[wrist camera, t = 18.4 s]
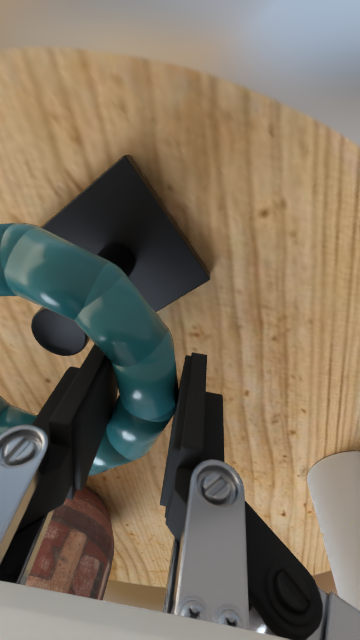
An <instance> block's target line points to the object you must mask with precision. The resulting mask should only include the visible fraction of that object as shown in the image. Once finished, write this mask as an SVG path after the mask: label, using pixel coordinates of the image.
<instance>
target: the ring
mask: <svg viewBox="0 0 360 640" xmlns="http://www.w3.org/2000/svg"><path fill="white" fill-rule="evenodd" d="M0 296H20V297H22V298H24V299H27V300H29V301H31V302H33V303H35V304H38V305H40V306H42V307H44V308H46V309H49V310H51V311H53V312H55V313H58V314H60V315H62V316H64V317H66V318H69V319H71V320H73V321H75V323H76V324H77V325H78V326H79V327H80V328H81V329H82V330H83V331H84V332H85V333H86V335H87V336H88V337H89V338H90V339H91V340H92V341H93V342H94V343H95V344H96V345H97V346H98V348H99V349H100V350H101V351H102V352H103V353H104V354H105V355H106V356H107V357H108V358H109V359H110V361H111V362H112V365H113V369H114V373H115V377H116V381H117V385H118V389H119V394H120V395H119V397H118V399H117V401H116V403H115V405H114V407H113V409H112V411H111V413H110V417H109V421H108V425H107V428H106V431H105V433H104V436H103V438H102V441H101V444H100V446H99V449H98V452H97V454H96V457H95V459H94V462H93V465H92V467H91V470H90V472H89V475H88V476H91V475H95V474H98V473H101V472H104V471H106V470H109V469H112V468H115V467H117V466H120V465H123V464H126V463H129V462H131V461H134V460H137V459H139V458H141V457H143V456H144V455H145V454H146V453H147V452H148V451H149V450H150V449H151V447H152V446H153V444H154V443H155V441H156V440H157V439H158V437H159V436H160V434H161V433H162V431H163V430H164V428H165V427H166V425H167V424H168V422H169V421H170V419H171V418H172V416H173V415H174V413H175V411H176V407H177V401H178V396H179V388H178V379H177V371H176V362H175V353H174V345H173V339H172V335H171V333H170V331H169V329H168V328H167V326H166V325H165V324H164V322H163V321H162V320H161V318H160V317H159V316H158V315H157V313H156V312H155V311H154V310H153V308H152V307H151V306H150V305H149V303H148V302H147V301H146V299H145V298H144V297H143V296H142V294H141V293H140V292H139V291H138V289H137V288H136V287H135V285H134V284H133V283H132V282H131V280H130V279H129V278H128V277H127V275H126V274H125V273H124V272H123V270H122V269H120V267H118V266H117V265H116V264H114V263H112V262H111V261H109V260H107V259H104V258H102V257H100V256H98V255H96V254H94V253H92V252H90V251H88V250H86V249H84V248H82V247H80V246H78V245H75V244H73V243H71V242H69V241H67V240H65V239H63V238H61V237H59V236H57V235H55V234H53V233H51V232H49V231H46V230H44V229H42V228H40V227H38V226H35V225H32V224H27V223H10V224H0ZM36 417H37V415H35V414H32V413H30V412H28V411H25V410H23V409H20V408H18V407H15V406H13V405H10V404H9V403H8V402H7V401H6V400H5V399H3V398H2V397H1V396H0V434H1V433H3V432H4V431H5V430H8V429H10V428H12V427H15V426H20V425H32V423H33V422H34V420H35V419H36Z"/></svg>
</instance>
